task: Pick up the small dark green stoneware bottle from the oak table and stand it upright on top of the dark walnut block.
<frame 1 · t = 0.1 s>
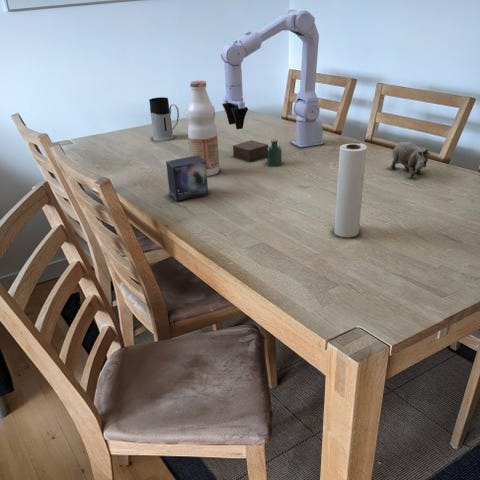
hand: (235, 126, 179), 10 cm above the table, tool pointing down, fingers open, 7 cm apart
paper towel roll: (348, 233, 127), on the table
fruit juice: (205, 172, 170), on the table
block: (250, 156, 182), on the table
rhinoceros figurine: (410, 175, 159), on the table
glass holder: (168, 139, 207), on the table
small box: (189, 195, 153), on the table
bottle: (274, 163, 174), on the table
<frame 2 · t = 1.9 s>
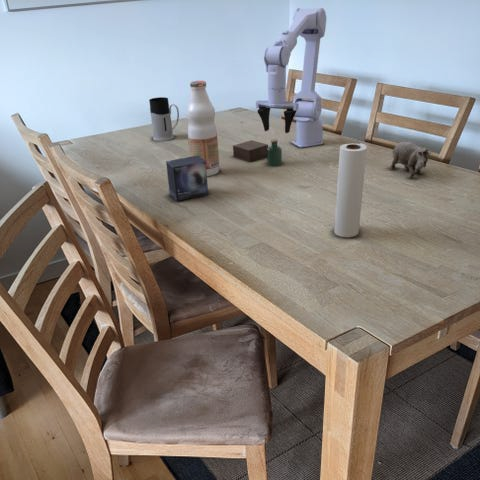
hand: (277, 131, 170), 10 cm above the table, tool pointing down, fingers open, 7 cm apart
nothing on the table moved.
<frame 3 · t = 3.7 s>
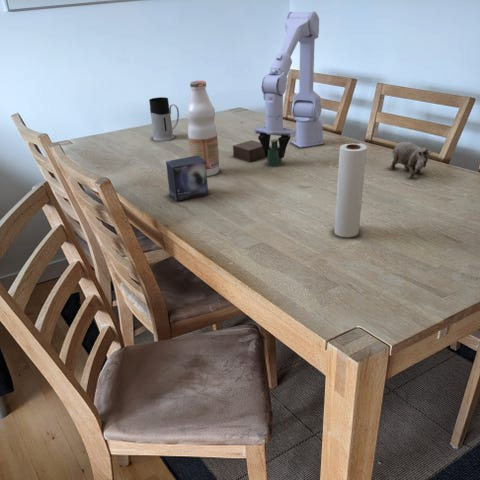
hand: (274, 156, 173), 2 cm above the table, tool pointing down, fingers closed on bottle, 5 cm apart
bottle: (274, 163, 174), on the table, touching gripper
everything else where it was.
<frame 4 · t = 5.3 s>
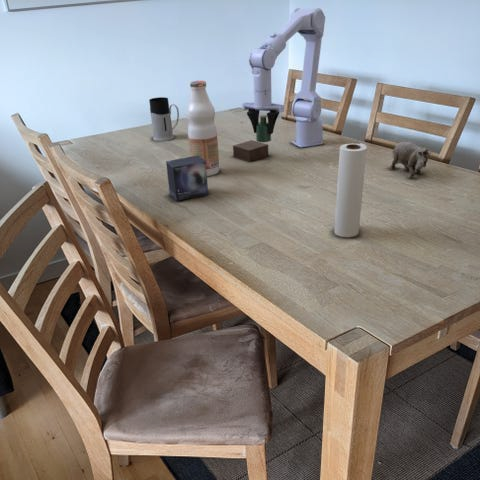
hand: (263, 133, 172), 9 cm above the table, tool pointing down, fingers closed on bottle, 5 cm apart
bottle: (263, 140, 174), point 7 cm above the table, touching gripper
everything else where it was.
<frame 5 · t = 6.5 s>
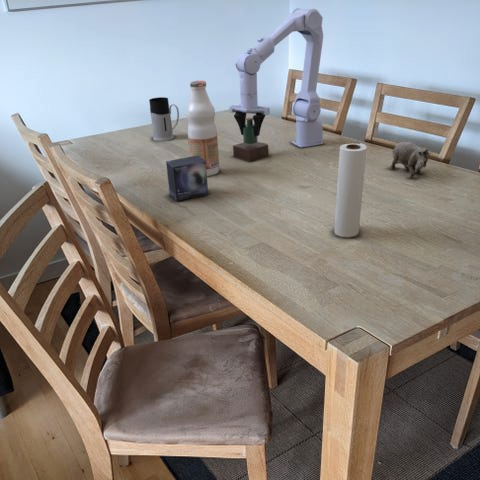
hand: (250, 134, 178), 8 cm above the table, tool pointing down, fingers closed on bottle, 5 cm apart
bottle: (250, 141, 179), point 5 cm above the table, touching gripper
everything else where it was.
when the fingers open (6 cm above the table, at t = 7.4 s): bottle stays where it is, resting on block.
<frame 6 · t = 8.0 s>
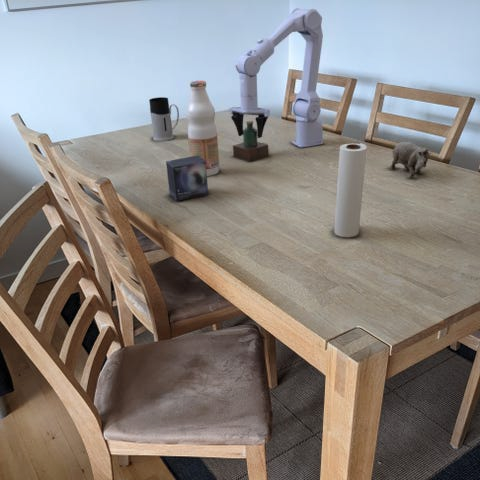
hand: (250, 136, 178), 7 cm above the table, tool pointing down, fingers open, 7 cm apart
block: (250, 156, 182), on the table, touching bottle
bottle: (250, 145, 180), point 4 cm above the table, touching block
everything else where it was.
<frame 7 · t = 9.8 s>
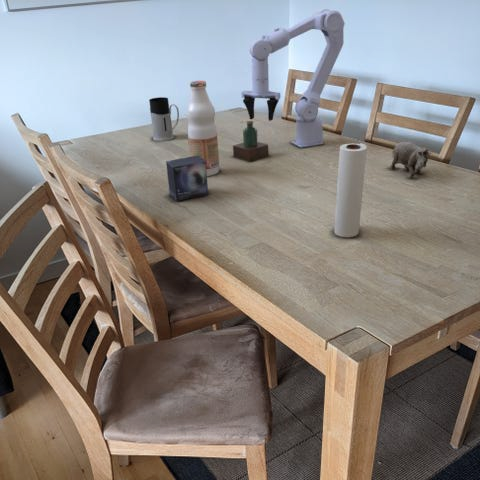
hand: (261, 119, 184), 10 cm above the table, tool pointing down, fingers open, 7 cm apart
nothing on the table moved.
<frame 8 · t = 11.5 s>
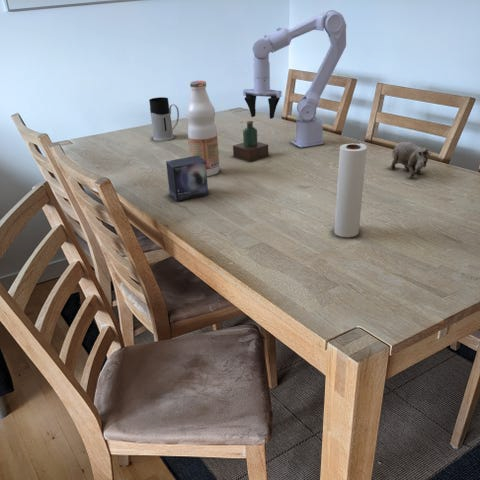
hand: (262, 117, 187), 10 cm above the table, tool pointing down, fingers open, 7 cm apart
nothing on the table moved.
at the end: bottle 0.0 cm off-centre on the block, point 4.0 cm above the block's base; bottle tilted 0°; the gripper is holding nothing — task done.
